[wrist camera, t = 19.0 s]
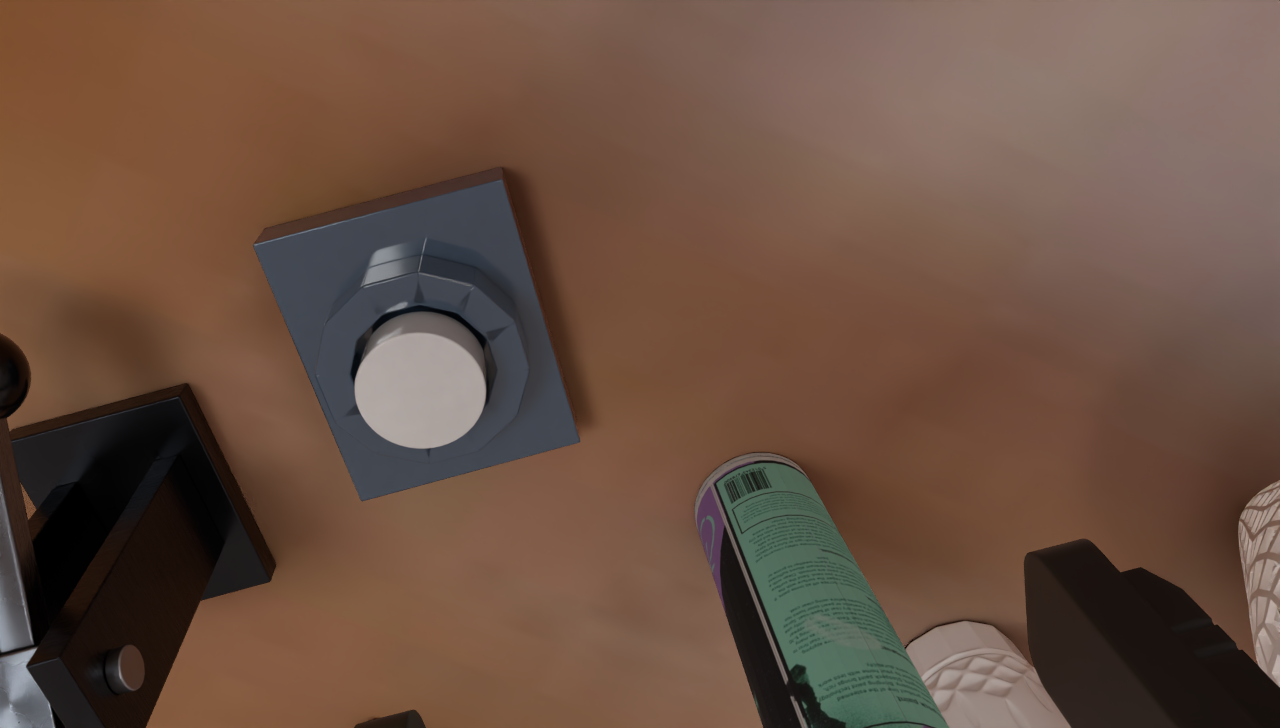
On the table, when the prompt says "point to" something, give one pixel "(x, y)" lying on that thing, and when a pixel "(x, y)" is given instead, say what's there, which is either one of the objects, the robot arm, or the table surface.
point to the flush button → (421, 380)
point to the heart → (1263, 575)
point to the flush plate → (431, 282)
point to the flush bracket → (129, 548)
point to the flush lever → (18, 568)
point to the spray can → (803, 605)
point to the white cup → (982, 679)
